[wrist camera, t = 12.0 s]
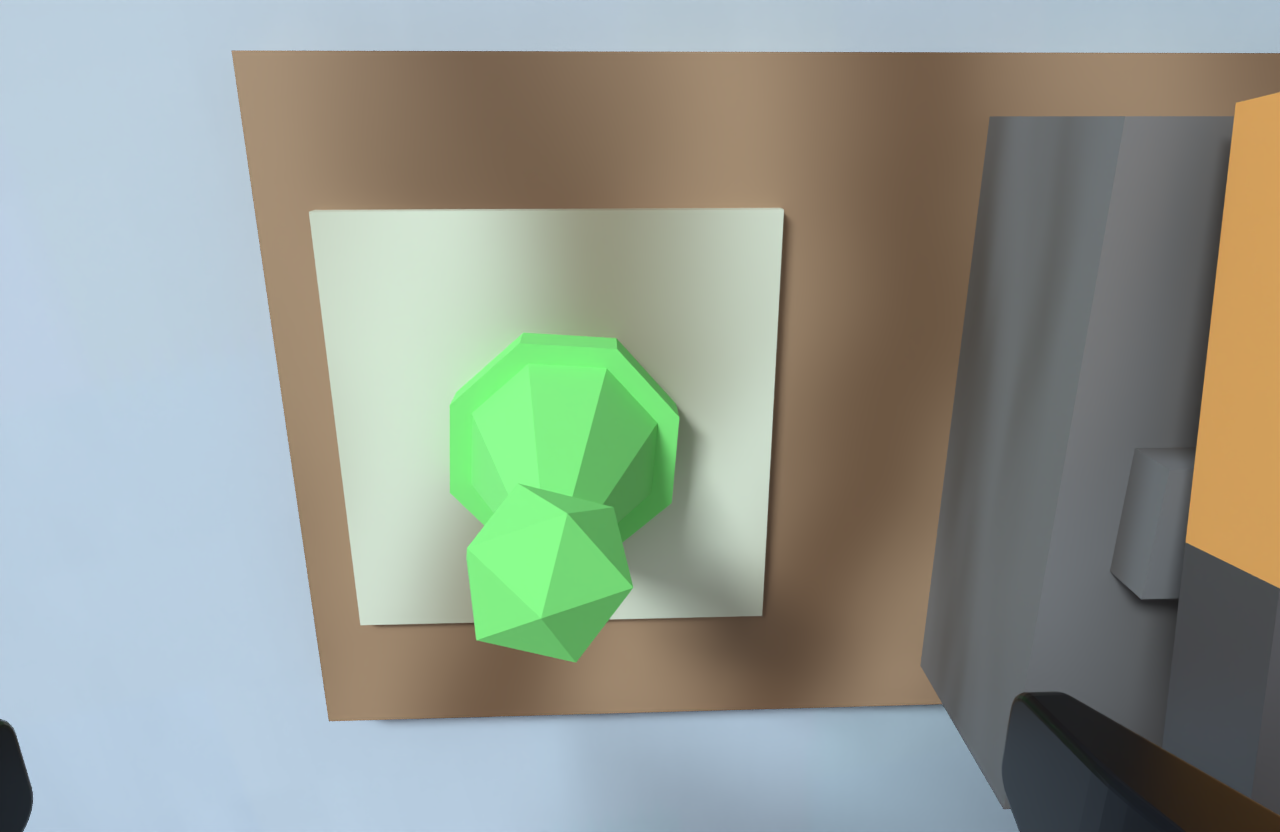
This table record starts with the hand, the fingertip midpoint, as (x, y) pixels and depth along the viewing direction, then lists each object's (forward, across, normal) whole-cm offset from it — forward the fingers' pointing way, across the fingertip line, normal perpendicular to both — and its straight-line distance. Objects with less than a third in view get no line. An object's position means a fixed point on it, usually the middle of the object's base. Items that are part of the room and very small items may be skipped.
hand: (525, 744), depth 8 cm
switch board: (+10, -5, 0) cm, 11 cm away
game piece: (+9, 0, 0) cm, 9 cm away
